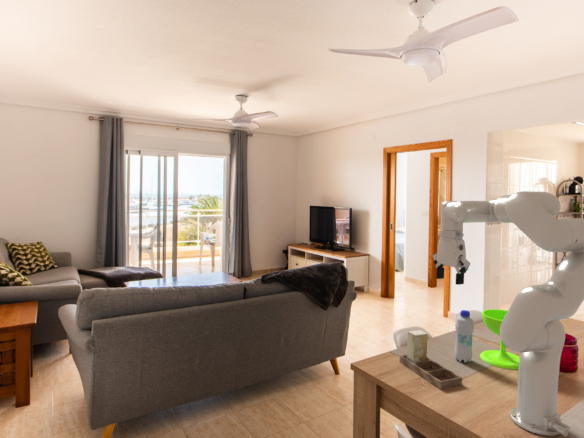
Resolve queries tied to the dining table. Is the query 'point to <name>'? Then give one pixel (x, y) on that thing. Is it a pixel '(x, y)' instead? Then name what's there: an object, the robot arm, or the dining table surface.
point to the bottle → (464, 337)
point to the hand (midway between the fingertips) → (449, 281)
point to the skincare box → (417, 346)
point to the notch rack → (433, 372)
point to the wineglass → (501, 357)
